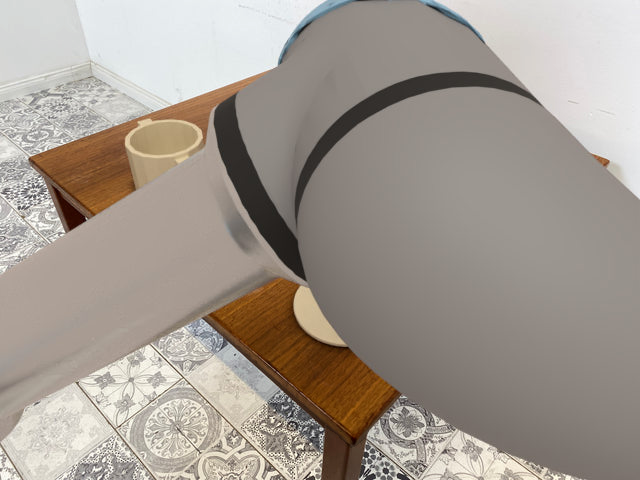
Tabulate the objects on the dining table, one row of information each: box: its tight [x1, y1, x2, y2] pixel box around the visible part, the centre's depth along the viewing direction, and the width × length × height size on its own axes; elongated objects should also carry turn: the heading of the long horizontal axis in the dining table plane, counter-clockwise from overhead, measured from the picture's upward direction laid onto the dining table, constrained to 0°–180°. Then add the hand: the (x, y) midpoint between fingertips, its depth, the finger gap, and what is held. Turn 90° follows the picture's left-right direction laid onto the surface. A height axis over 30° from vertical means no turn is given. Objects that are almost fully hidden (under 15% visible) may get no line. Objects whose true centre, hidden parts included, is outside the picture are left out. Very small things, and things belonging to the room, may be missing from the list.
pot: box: [124, 117, 205, 191], centre depth 88 cm, size 13×18×10 cm
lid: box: [293, 285, 349, 348], centre depth 67 cm, size 14×14×10 cm
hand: (431, 242), depth 56 cm, fingers open, 13 cm apart
